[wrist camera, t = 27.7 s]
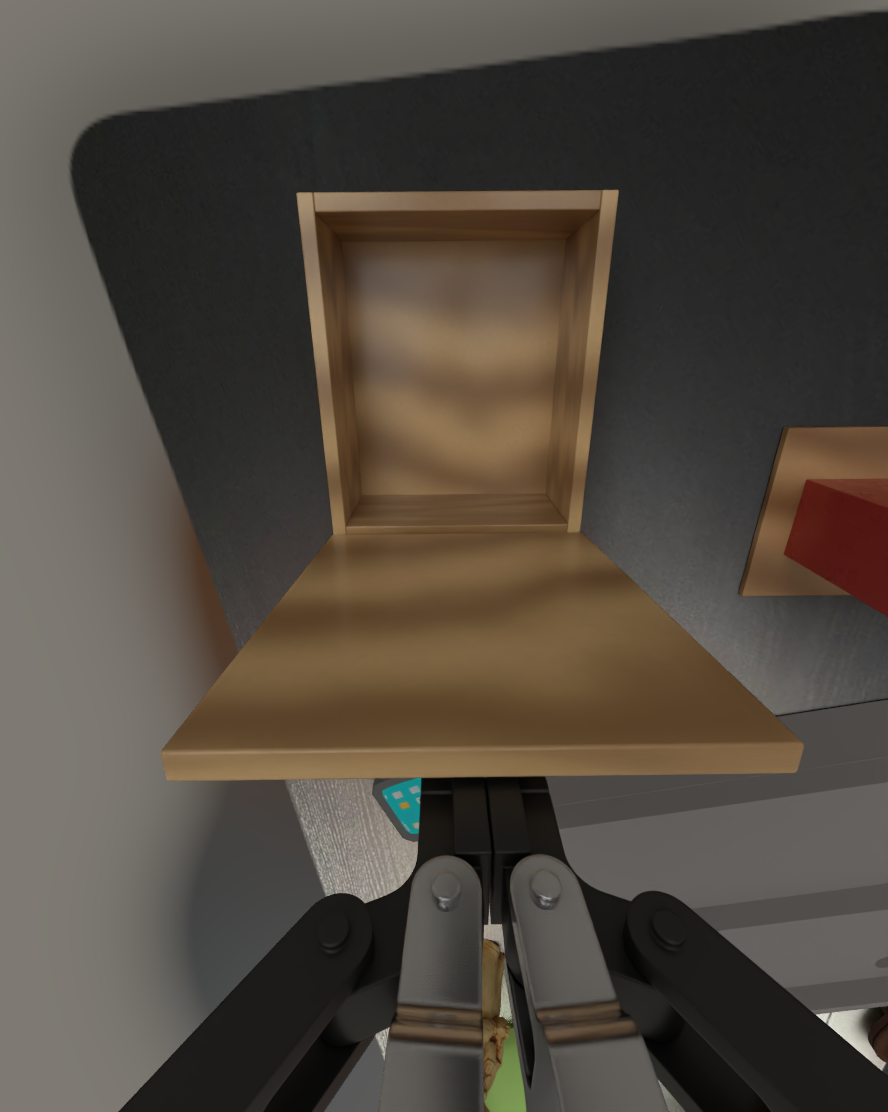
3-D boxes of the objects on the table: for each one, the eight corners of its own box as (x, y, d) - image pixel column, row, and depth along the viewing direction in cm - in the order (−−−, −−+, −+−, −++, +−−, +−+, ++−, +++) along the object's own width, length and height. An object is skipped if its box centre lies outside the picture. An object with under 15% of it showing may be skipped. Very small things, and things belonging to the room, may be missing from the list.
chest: (330, 229, 26) (295, 192, 20) (576, 227, 26) (619, 189, 20) (354, 502, 32) (333, 538, 26) (552, 500, 32) (579, 536, 26)
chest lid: (157, 752, 10) (165, 783, 10) (807, 744, 10) (799, 775, 10) (331, 534, 25) (332, 548, 25) (582, 531, 25) (581, 546, 25)
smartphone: (561, 800, 42) (407, 847, 44) (558, 790, 43) (408, 837, 45) (528, 732, 39) (365, 786, 41) (527, 723, 40) (367, 777, 42)
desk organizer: (481, 762, 41) (489, 839, 35) (967, 687, 38) (1073, 755, 32) (525, 962, 54) (537, 1046, 47) (894, 916, 51) (959, 998, 45)
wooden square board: (783, 426, 30) (788, 427, 30) (971, 424, 30) (979, 426, 30) (737, 593, 35) (742, 596, 34) (899, 591, 35) (906, 594, 34)
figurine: (511, 969, 54) (536, 1180, 41) (447, 979, 55) (449, 1189, 41) (497, 930, 51) (518, 1143, 38) (429, 941, 52) (424, 1154, 38)
